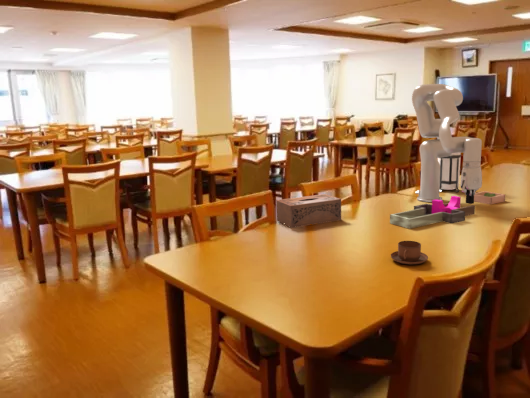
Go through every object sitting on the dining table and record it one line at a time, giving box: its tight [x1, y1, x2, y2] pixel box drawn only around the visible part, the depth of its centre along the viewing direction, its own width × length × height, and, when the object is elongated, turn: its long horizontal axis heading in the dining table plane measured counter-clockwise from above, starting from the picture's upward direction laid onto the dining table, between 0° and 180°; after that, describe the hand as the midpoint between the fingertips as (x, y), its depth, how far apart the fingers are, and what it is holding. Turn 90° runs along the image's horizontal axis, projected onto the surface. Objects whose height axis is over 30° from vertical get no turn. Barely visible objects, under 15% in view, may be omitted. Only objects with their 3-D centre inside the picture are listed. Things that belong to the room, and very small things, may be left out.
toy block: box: [431, 195, 461, 214], centre depth 220 cm, size 15×6×8 cm, turn 121°
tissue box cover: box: [275, 193, 342, 228], centre depth 218 cm, size 26×14×10 cm, turn 114°
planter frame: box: [474, 190, 506, 205], centre depth 244 cm, size 12×12×4 cm
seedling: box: [484, 192, 496, 197], centre depth 240 cm, size 6×7×6 cm
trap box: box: [389, 202, 476, 230], centre depth 214 cm, size 21×42×4 cm, turn 120°
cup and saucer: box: [390, 240, 429, 265], centre depth 160 cm, size 12×12×6 cm
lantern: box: [437, 153, 462, 193], centre depth 271 cm, size 17×16×30 cm
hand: (469, 203), depth 225 cm, fingers closed
